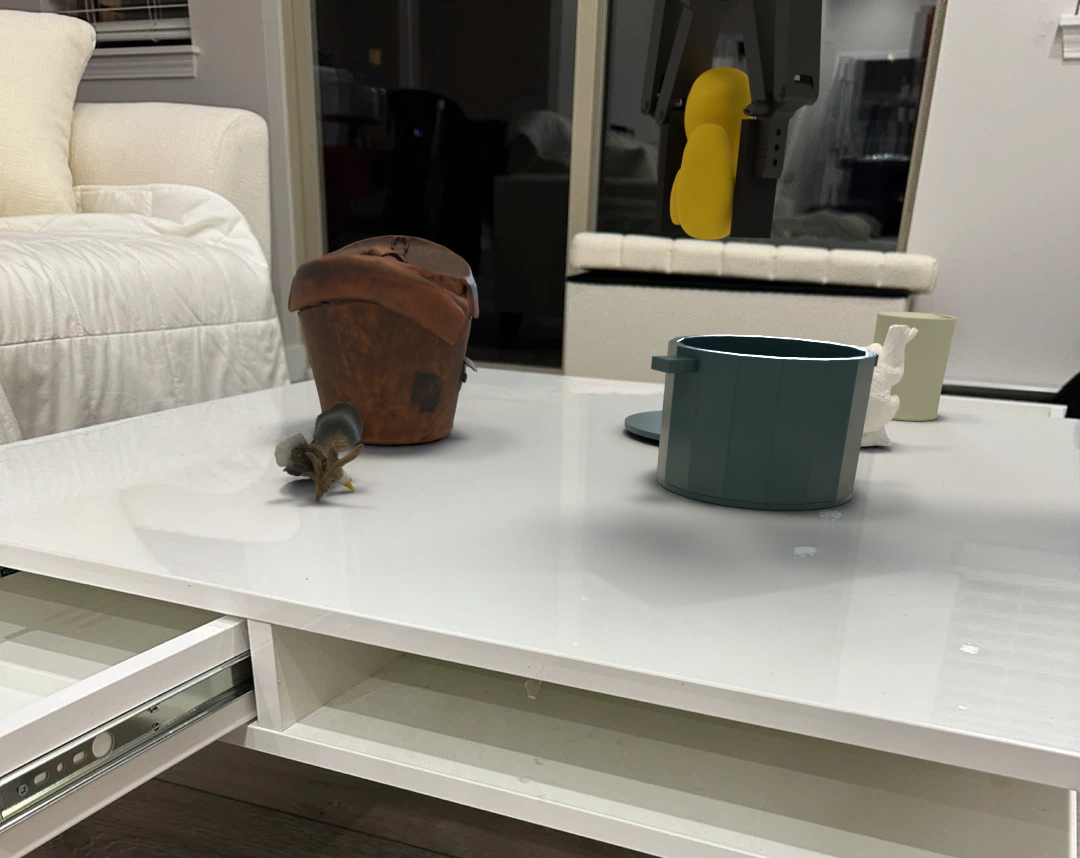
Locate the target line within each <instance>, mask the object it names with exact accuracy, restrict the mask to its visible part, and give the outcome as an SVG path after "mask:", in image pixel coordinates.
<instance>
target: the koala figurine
mask: <svg viewBox="0 0 1080 858" xmlns="http://www.w3.org/2000/svg"><path fill="white" fill-rule="evenodd" d="M918 331H919V330H917V329H916V328H912V329H910V328H909V326H908V325H891V326H890V327H889V330H888V333H887V336H886V339H885V342H884V345H883V347H882V346H881V345H880V344H878V343H874V344H873V343H871V344H869V345H868V346H860V347H861V348H864V349H867V350H871V351H874V352H876V354H878V355H879V357H878V362H877V366H876V367H874V372H873V378H872V383H871V389H870V395H869V401H868V407H867V412H866V418H865V424H864V430H863V436H862V441H861V447H860V448H863V447H875V446H877V447H878V446H879V447H890V446H893V442H892V440H891V438H890V437H889V436H888V434H887V432H886V427H885V426H886V425H887V424H889V422H891V420H894V419H893V418H894V416H895V414H896V412H897V410H898V408H899V405H900V400H899V396H897V395H891V388H892V385H895V384H897V383H898V382H899V381H900V379H901V378H902V376H903V374H904V357H905V351H904V349H905V346H906V344H907V343H908V342H909V341H910V340H911V339H913V338H914V337H915V335H916V334H917V332H918ZM850 346H856V347H859V346H858V345H856V344H851V345H850Z"/></svg>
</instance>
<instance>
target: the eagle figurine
mask: <svg viewBox="0 0 1080 858" xmlns="http://www.w3.org/2000/svg"><path fill="white" fill-rule="evenodd" d="M314 425H315V426H314V428H313V429H314V430H313V435H312V440H311V442H309V443H308V441H307V439H306V438H305V435H304V434H303V433H301V432H295V433H292V434H291V435H289V436H287V437H286V438H284V439H282V440H280V442H279V443H278V444H277V445H276V447H275V451H274V457H275V462H276V465H277V466H279V467H281V468H283V469H282V473H284V472H286V474H287V475H289V476H293V477H303V478H309V479H311V480H312V481H313V482H314V484H315V496H314V501H315V503H320V501H321V499H322V498H323V497H324V494H326V493H327V492H328V488H331V483H332V481H335V482H336V483H338V484H339V485H341V486H343V487H346V488H348V489H349V490H350V491H351V492H355V491H356V490H355V488H354V486H353V483H352V478H351V477H350V475H349V474H348V473H347V471H345V470H344V468H343V467H344V466H346V465H347V464H349V463H351V462H352V461H355V459H357V458H358V457H359V455H360V454H361V452H362V450H363V448H364V445H365V444H361V443H358V442H359V441H360V440H361V439H362V436H361V434H362V432H363V425H364V423H363V422H362V420H361V415H360V414H359V413H358V410H357V409H356V408H355V405H351V403H348V402H344V401H343V402H342V401H340V402H337V403H336V404H334V405H333V406H331V407H330V408H329V409H326V410H325V411H324V412H323V413H322V412H321V413H319V414H318V415H317V416H316V417H315V423H314ZM357 444H358V445H357ZM355 445H357V446H355ZM351 446H355V448H354V449H353V450H352V451H350V452H349V453H347V454H346V455H345V456H343V457H341V458H339V454H340V453H343V452H344V451H347V450H348V449H349V448H350V447H351Z"/></svg>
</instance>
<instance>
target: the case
mask: <svg viewBox="0 0 1080 858" xmlns="http://www.w3.org/2000/svg"><path fill="white" fill-rule="evenodd" d="M478 294H479V293H478V288H477V283H476V280H475V278H474V276H473V272H472V268H471V266H470V264H469V263H468V262H467V261H466V260H465V258H463V257H462V256H460V255H459V254H457V253H456V252H454V251H452V250H451V249H449V248H447V247H446V246H444V245H442V244H439V243H436V242H434V241H431V240H428V239H425V238H422V237H417V236H411V235H399V234H397V235H396V234H395V235H394V234H388V235H380V236H374V237H369V238H364V239H361V240H357V241H355V242H351V243H350V244H349V243H348V244H347V245H344V246H343V247H341V248H339V249H337V250H335V251H332V252H329V253H327V254H325V255H322V256H321V257H319V258H315V259H312V260H307V261H305V262H303V263H301V264H300V265H299V266H298V267H297V269H296V271H295V273H294V275H293V279H292V282H291V285H290V291H289V295H288V300H287V310H288V312H289V313H295V312H297V317H298V318H299V320H300V325H301V330H302V333H303V338H304V341H305V346H306V350H307V354H308V359H309V364H310V367H311V372H312V375H313V380H314V384H315V387H316V392H317V396H318V400H319V405H320V410H321V413H323V412H324V411H325V410H326V409H329V408H330V407H331V406H333V405H334V404H336V403H337V402H340V401H342V402H343V401H344V402H348V403H351V405H355V408H356V409H357V410H358V413H359V414H360V415H361V420H362V422H363V423H364V425H363V432H362V434H361V436H362V439H361V440H360V441H359V442H358V443H357V444H363V445H376V446H394V445H395V446H396V445H410V444H421V443H428V442H429V443H430V442H433V441H436V440H440V439H443V438H445V437H447V436H448V435H450V434H451V432H452V431H453V428H454V424H455V417H456V412H457V406H458V401H459V395H460V391H461V389H462V386H463V384H466V383H467V381H468V373H467V367H469V368H470V369H471V370H472V371H473V372H475V373H477V372H478V366H477V364H476V363H475V362H473V360H471V359H470V358H469V357H467V356H466V353H467V348H468V342H469V339H470V334H471V328H472V318H473V319H478V318H479V316H480V308H479V295H478Z"/></svg>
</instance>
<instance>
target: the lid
mask: <svg viewBox="0 0 1080 858" xmlns="http://www.w3.org/2000/svg"><path fill="white" fill-rule="evenodd" d="M661 420H662V410H652V411H642V412H637V413H633V414H630V415H628V416H626V417H625V419H624V423H623V424H624V425H623V426H624V428H625V429H626V430H627V431H628V432H630V433H633V434H635V435H638V436H641V437H644V438H648V439H651V440H652V441H653V440H654V441H657V442H660V431H661Z"/></svg>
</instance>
